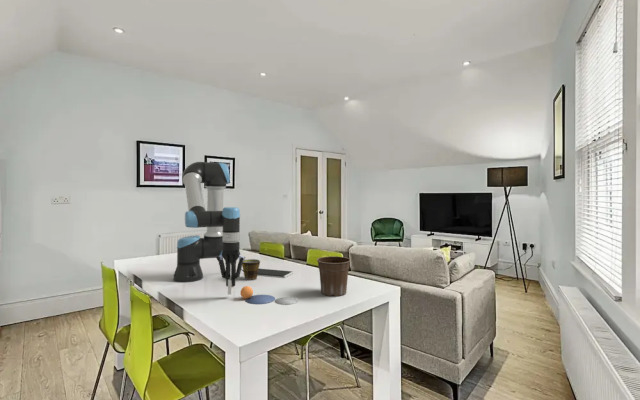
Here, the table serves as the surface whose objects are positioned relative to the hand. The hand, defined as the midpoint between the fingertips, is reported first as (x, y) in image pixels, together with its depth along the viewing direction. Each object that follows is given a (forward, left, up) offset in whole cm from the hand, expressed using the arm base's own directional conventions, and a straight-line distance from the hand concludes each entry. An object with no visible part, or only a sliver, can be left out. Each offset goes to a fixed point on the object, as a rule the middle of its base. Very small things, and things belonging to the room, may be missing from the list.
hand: (230, 293), depth 150 cm
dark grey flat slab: (+3, +48, -3) cm, 48 cm away
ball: (+8, 0, +1) cm, 8 cm away
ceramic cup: (-4, +33, -2) cm, 33 cm away
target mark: (+14, 0, -2) cm, 14 cm away
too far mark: (+26, 0, -2) cm, 26 cm away
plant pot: (+45, +16, -2) cm, 48 cm away
